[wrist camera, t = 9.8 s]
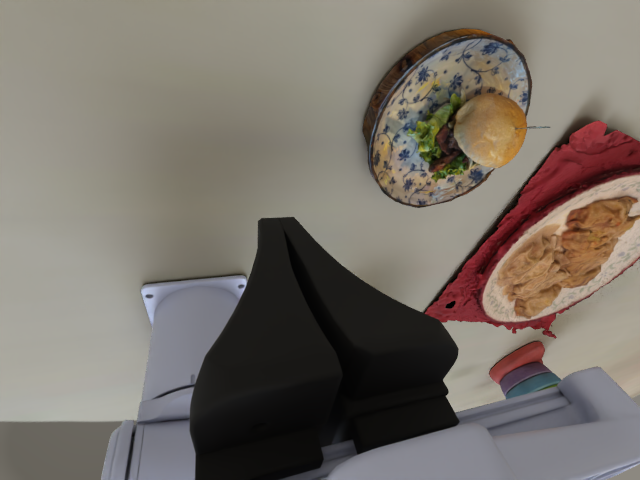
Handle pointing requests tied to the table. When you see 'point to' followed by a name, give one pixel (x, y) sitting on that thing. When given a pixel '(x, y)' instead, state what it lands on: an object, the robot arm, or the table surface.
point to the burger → (447, 117)
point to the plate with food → (556, 237)
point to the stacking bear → (524, 372)
